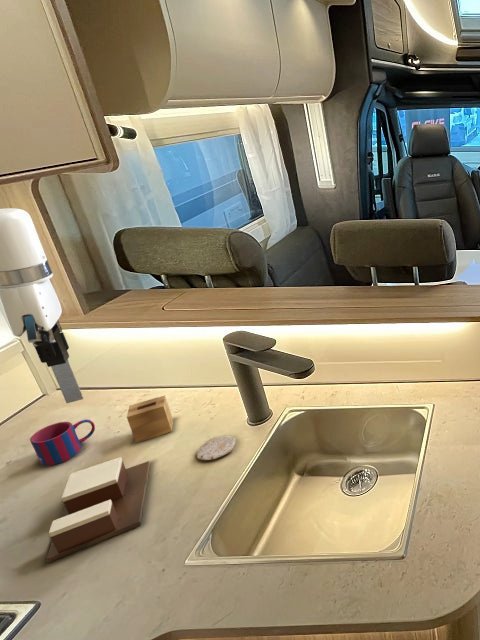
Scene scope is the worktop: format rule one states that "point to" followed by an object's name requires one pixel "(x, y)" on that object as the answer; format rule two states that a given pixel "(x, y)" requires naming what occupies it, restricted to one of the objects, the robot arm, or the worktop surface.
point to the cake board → (117, 510)
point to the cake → (95, 485)
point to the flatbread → (216, 447)
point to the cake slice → (83, 525)
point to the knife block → (150, 418)
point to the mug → (58, 442)
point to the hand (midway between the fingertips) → (55, 355)
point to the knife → (64, 372)
